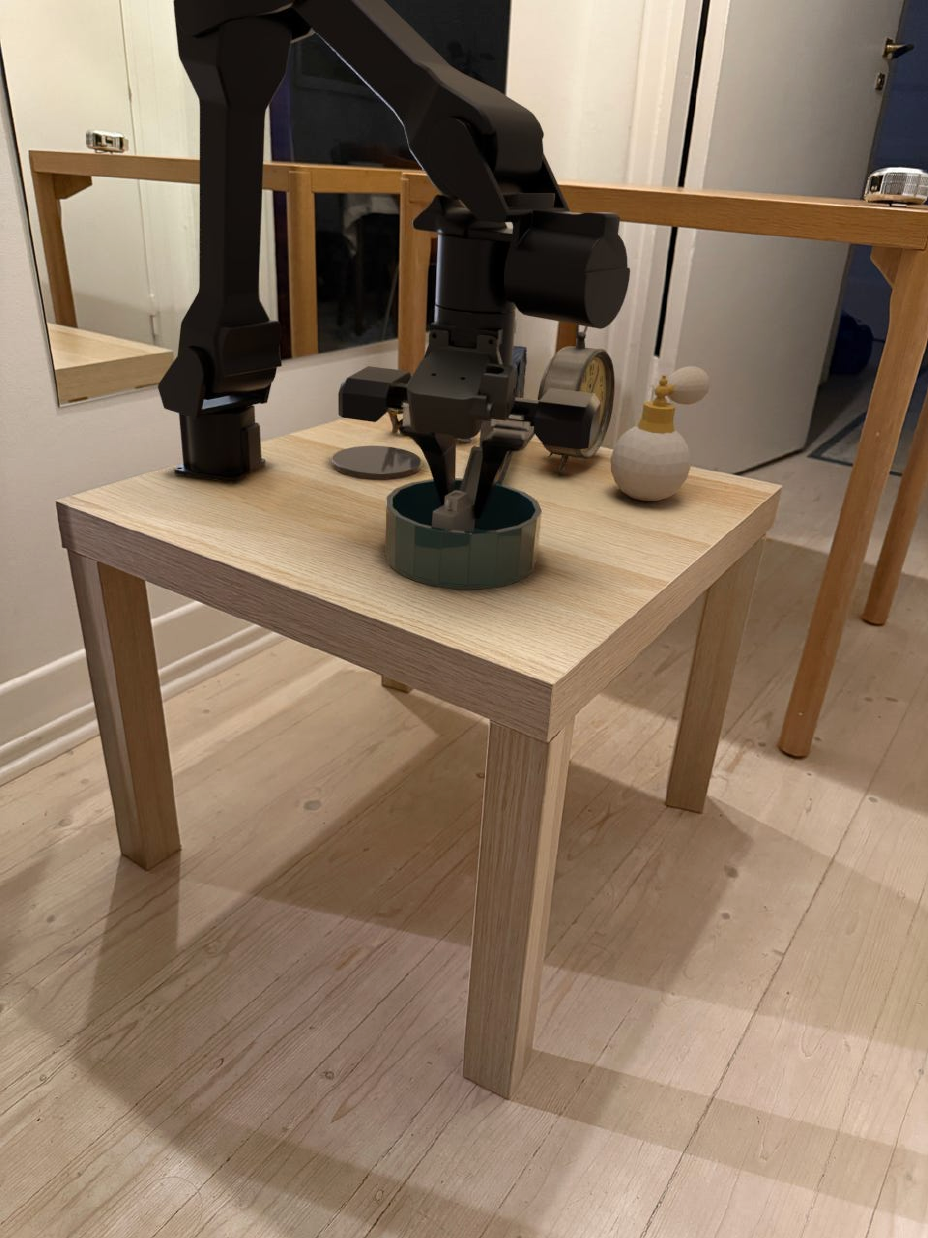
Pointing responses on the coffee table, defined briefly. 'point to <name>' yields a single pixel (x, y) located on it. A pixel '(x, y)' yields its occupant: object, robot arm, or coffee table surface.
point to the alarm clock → (581, 388)
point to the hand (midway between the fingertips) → (463, 515)
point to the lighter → (461, 499)
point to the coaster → (376, 462)
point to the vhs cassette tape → (519, 370)
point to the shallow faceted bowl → (462, 539)
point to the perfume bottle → (658, 441)
